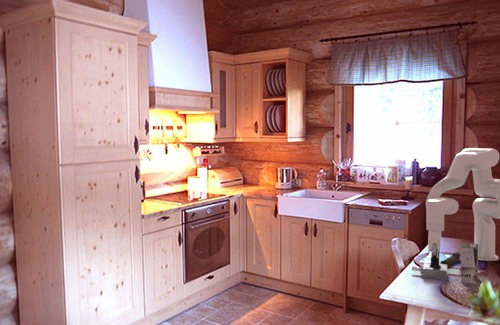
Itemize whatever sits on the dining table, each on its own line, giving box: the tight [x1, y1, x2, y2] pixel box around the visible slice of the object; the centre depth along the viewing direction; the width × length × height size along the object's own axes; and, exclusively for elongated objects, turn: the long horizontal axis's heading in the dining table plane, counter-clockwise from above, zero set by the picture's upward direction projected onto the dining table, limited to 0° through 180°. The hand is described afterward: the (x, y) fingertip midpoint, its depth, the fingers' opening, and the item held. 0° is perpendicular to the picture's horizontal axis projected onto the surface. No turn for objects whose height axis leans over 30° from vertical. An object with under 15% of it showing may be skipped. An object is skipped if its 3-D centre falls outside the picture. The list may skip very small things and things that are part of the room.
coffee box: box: [460, 242, 479, 285], centre depth 190 cm, size 9×6×16 cm
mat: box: [447, 267, 460, 276], centre depth 202 cm, size 8×8×1 cm
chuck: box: [411, 261, 448, 282], centre depth 197 cm, size 10×15×5 cm, turn 64°
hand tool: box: [439, 251, 461, 268], centre depth 214 cm, size 19×4×5 cm, turn 131°
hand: (435, 262), depth 196 cm, fingers open, 9 cm apart
